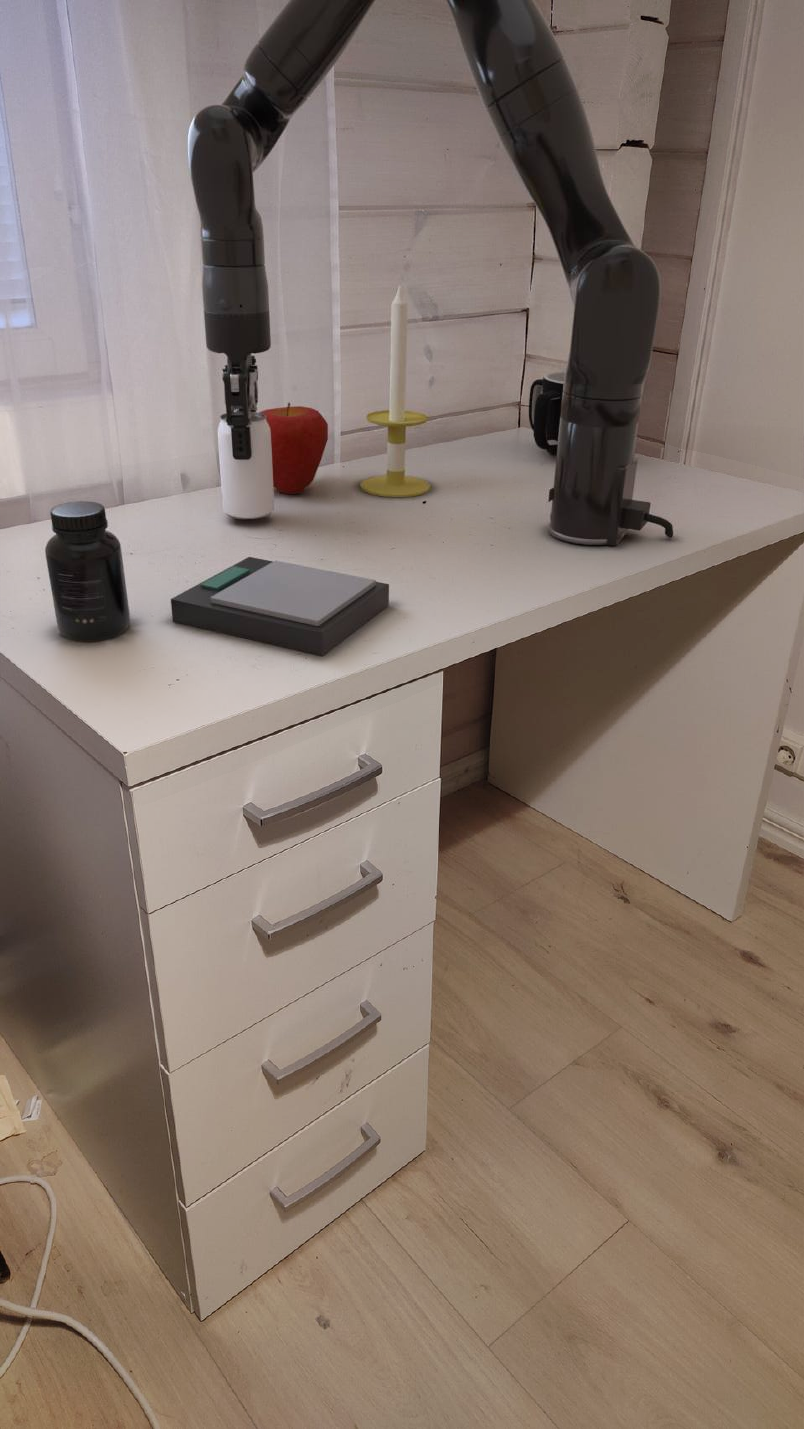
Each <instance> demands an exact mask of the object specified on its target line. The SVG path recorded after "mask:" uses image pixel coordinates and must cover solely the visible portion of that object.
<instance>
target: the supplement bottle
mask: <svg viewBox="0 0 804 1429" xmlns="http://www.w3.org/2000/svg"><path fill="white" fill-rule="evenodd" d="M50 518H51V519H50V520H51V530H52V532H53V533H54V535H52V537H50V538H49V539H48V541H47V542H46V545H45V547H44V553H45V560H46V566H47V573H48V577H49V583H50V590H51V591H50V592H51V596H52V602H53V608H54V614H55V620H56V624H57V629H58V631H59V633H60V634H61V635H62V636H64V637H65V638H67V639H70V640H72V641H76V642H77V641H78V642H97V641H98V642H99V641H104V640H108V639H112V638H115V637H117V636H119V635H121V634H123V633H124V632H125V631H126V630H127V629H128V628H129V626H130V623H131V616H130V615H131V614H130V607H129V598H128V590H127V583H126V574H125V567H124V560H123V550H122V545H121V542H120V540H119V538H118V537H117V535H115V534H114V533H112V532H111V531H109V530H107V529H108V527H109V522H108V519H107V515H106V508H105V506H104V505H103V504H102V503H99V502H95V501H87V500H79V501H78V500H77V501H76V500H75V501H70V502H65V503H61V504H57V505H56V506H53V507H52V508H51V509H50Z"/></svg>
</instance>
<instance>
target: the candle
mask: <svg viewBox="0 0 804 1429" xmlns="http://www.w3.org/2000/svg"><path fill="white" fill-rule="evenodd" d="M399 285H401V282H400V281H399ZM408 306H409V303H408V301H406V299H405V297H404V293H403V288H402V286H398V287H397V291H396V295H395V297H394V299H393V300H392V302H391V307H390V308H391V312H390V318H391V319H390V355H389V357H390V359H389V361H390V362H389V365H390V366H389V407H388V408H389V409H386V410H385V409H384V410H378V411H377V410H376V411H372V412H369V413H367V414H366V416H365V419H366V420H367V421H368V422H369V423H371V424H374V425H379V426H384V427H387V438H386V440H387V441H386V442H387V444H386V446H387V447H386V475H378V476H374V477H373V476H372V477H369V478H367V479H364V480H362V482H361V483H360V485H359V487H360V489H361V491H363V492H365V493H367V494H370V495H374V496H378V497H384V498H411V497H412V498H413V497H416V496H422V495H425V494H427V493H428V492H430V489H431V484H429V483H428V482H427V481H426V480H423V479H421V478H417V477H414V476H407V475H405V471H406V435H407V434H406V432H407V427H415V426H420V425H423V424H426V423H427V421H428V418H429V417H428V416H427V415H426V414H424V413H421V412H418V411H412V410H406V383H407V382H406V381H407V380H406V379H407V346H408V345H407V343H408V311H409V310H408V308H409V307H408Z"/></svg>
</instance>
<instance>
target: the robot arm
mask: <svg viewBox="0 0 804 1429" xmlns="http://www.w3.org/2000/svg"><path fill="white" fill-rule="evenodd" d="M445 1H446V4H447V6H448V9H449V11H450V15H451V17H452V19H453V22H454V26H455V29H456V32H457V35H458V39H459V41H460V45H461V48H462V52H463V55H464V57H465V61H466V63H467V66H468V69H469V72H470V75H471V77H472V80H473V83H474V85H475V88H476V91H477V94H478V96H479V98H480V101H481V103H482V105H483V108H484V109H485V112H486V114H487V116H488V119H489V121H490V124H491V126H492V128H493V130H494V132H495V134H496V136H497V138H498V141H499V142H500V145H501V147H502V148H503V151H504V153H505V154H506V156H507V159H508V160H509V162H510V164H511V165H512V167H513V170H514V171H515V173H516V175H517V177H518V178H519V181H520V182H521V184H522V185H523V187H524V189H525V191H526V192H527V194H528V196H529V197H530V199H531V200H532V202H533V203H534V205H535V207H536V208H537V210H538V211H539V214H540V216H541V217H542V219H543V221H544V223H545V225H546V227H547V229H548V230H547V231H548V232H549V234H550V237H551V240H552V242H553V245H554V248H555V250H556V251H555V252H556V254H557V257H558V260H559V262H560V264H561V268H562V270H563V275H564V278H565V280H566V283H567V284H566V285H567V287H568V291H569V294H570V298H571V301H572V304H573V307H574V308H573V318H572V327H571V328H572V329H571V336H570V345H569V346H570V347H569V353H568V359H567V363H566V367H565V369H564V371H565V374H564V385H563V395H562V406H561V417H560V426H559V436H558V446H557V456H555V457H556V458H555V468H554V479H553V487H552V488H550V489H549V491H548V501H547V503H550V502H551V508H550V509H551V510H550V516H549V524H548V533H549V534H550V535H551V536H552V537H554V538H556V539H558V540H561V541H564V542H568V543H572V544H577V545H586V546H613V547H614V546H617V545H618V544H619V543H620V542H621V541H622V540H624V538H625V536H626V535H627V534H628V533H629V530H632V531H638V532H640V531H642V529H643V528H644V527H645V526H646V525H647V523H652V524H655V525H657V526H661V528H664V535H665V536H666V537H667V538H669V539H672V538H674V528H673V526H674V525H673V524H672V522H670V521H669V520H668V519H665V518H664V517H661V516H658V515H654V514H651V513H650V510H651V504H652V503H651V502H650V501H644V500H636V499H633V498H634V490H635V489H634V488H635V482H636V475H637V469H638V468H637V467H638V457H636V456H635V450H636V442H637V436H638V435H637V434H638V429H639V428H638V427H639V419H640V412H641V407H642V406H641V405H642V398H643V394H644V393H643V392H644V386H645V380H646V378H647V375H648V373H649V370H650V367H651V361H652V355H653V348H654V342H655V336H656V330H657V323H658V317H659V310H660V302H661V290H662V288H661V287H662V286H661V277H660V272H659V269H658V268H657V265H656V263H655V261H654V260H653V259H652V258H651V256H649V254H647V253H646V252H645V251H644V250H642V249H641V248H639V247H637V246H636V244H635V243H634V242H633V239H632V238H631V236H630V235H629V232H628V231H627V229H626V227H625V226H624V224H623V222H622V220H621V218H620V216H619V213H618V212H617V210H616V208H615V206H614V203H613V202H612V200H611V198H610V196H609V193H608V191H607V187H606V186H605V183H604V179H603V176H602V172H601V167H600V162H599V159H598V154H597V149H596V146H595V141H594V137H593V133H592V132H593V131H592V129H591V124H590V122H589V118H588V115H587V112H586V109H585V105H584V102H583V99H582V97H581V94H580V91H579V88H578V86H577V83H576V81H575V79H574V77H573V76H574V75H573V74H572V72H571V69H570V66H569V64H568V62H567V59H566V58H565V55H564V53H563V50H562V48H561V47H560V44H559V42H558V41H557V39H556V36H555V34H554V32H553V30H552V28H551V27H550V25H549V23H548V21H547V20H546V18H545V16H544V15H543V13H542V11H541V8H539V6H538V5H537V3H536V1H535V0H445ZM374 3H376V0H287V2H286V3H285V4H284V6H283V7H282V8H281V10H280V11H279V13H278V14H277V15H276V16H275V18H274V19H273V21H272V22H271V23H270V24H269V25H268V27H267V29H266V30H265V31H264V32H263V34H262V35H261V37H260V38H259V39H258V41H257V43H255V44H254V45H253V47H252V48H251V50H250V52H249V54H248V55H247V57H246V59H245V61H244V63H243V73H242V75H241V77H240V79H239V80H238V81H237V82H236V84H235V85H234V86H233V87H232V90H231V91H230V92H229V94H228V96H226V98H225V99H224V101H223V102H222V103H221V104H210V105H207V106H204V107H203V108H202V109H200V110H199V111H198V112H197V113H196V114H195V115H194V117H193V119H192V120H191V122H190V124H189V128H188V131H187V140H186V142H187V143H186V148H187V150H186V151H187V162H188V170H189V175H190V179H191V185H192V189H193V195H194V199H195V204H196V208H197V211H198V216H199V223H200V232H199V233H200V248H201V260H202V279H201V280H202V281H201V290H202V292H201V293H202V304H203V317H204V332H205V345H206V348H207V349H208V351H209V352H212V353H215V354H224V355H225V356H226V358H227V359H226V363H227V364H224V368H222V369H221V380H222V383H223V387H224V388H223V389H224V391H223V392H224V393H223V395H224V397H223V398H224V401H223V402H224V405H225V412H226V414H227V418H226V423H227V425H228V426H229V427H230V428H231V437H232V452H233V458H234V459H236V460H249V459H250V458H251V456H252V451H251V434H250V427H251V425H252V422H251V414H250V411H251V412H258V406H257V405H258V403H259V385H258V380H259V365H258V364H257V358H256V356H255V355H252V354H261V353H265V352H267V351H268V350H270V349H271V346H272V342H271V340H272V339H271V320H270V318H271V317H270V299H269V298H270V297H269V283H268V277H267V271H266V265H265V264H266V258H265V257H266V256H265V239H264V238H265V236H264V227H263V226H264V224H263V221H262V217H261V214H260V212H259V211H258V210H257V207H256V198H255V186H254V185H255V184H254V173H255V172H256V171H257V170H258V169H259V168H260V166H261V165H262V164H263V163H264V162H265V160H266V159H267V157H268V156H269V155H270V153H272V150H273V149H274V148H275V146H276V144H277V143H278V141H279V139H280V138H281V136H282V135H283V133H284V131H285V130H286V128H287V127H288V125H289V123H290V121H291V120H292V118H293V117H294V115H295V114H296V112H298V110H299V109H300V108H302V106H303V105H304V104H305V103H306V101H307V100H308V98H310V97H311V95H312V94H313V93H314V92H315V90H316V89H317V88H318V86H320V84H322V82H323V80H325V77H326V76H327V75H328V74H329V73H330V71H331V70H332V68H334V66H335V65H336V63H337V62H338V60H339V59H340V57H341V56H342V54H343V53H344V52H345V50H346V49H347V47H348V45H349V44H350V42H351V40H352V39H353V37H354V36H355V34H356V33H357V31H358V29H359V27H360V26H361V24H362V22H363V21H364V20H365V18H366V16H367V14H368V13H369V11H370V10H371V8H372V7H373V5H374ZM239 411H243V414H244V415H234V412H239Z"/></svg>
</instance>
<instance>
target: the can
mask: <svg viewBox="0 0 804 1429" xmlns="http://www.w3.org/2000/svg"><path fill="white" fill-rule="evenodd" d="M259 412H260V411H256V412H251V411H250V414H251V422H252V425H251V427H250V434H251V451H252V456H251V458H250V459H249V460H236V459H234V458H233V452H232V437H231V428H230V427H229V426H228V425H227V423H226V418H227V414H226V413H222V414H221V415H220V416H219V419H220V420H219V421H220V422H219V424H218V426H217V444H218V445H217V447H218V459H219V460H218V461H219V471H220V472H219V473H220V474H219V475H220V487H221V500H222V511H223V512H224V514H225V515H226V516H227V517H228V518H229V517H230V518H233V519H237V520H258V519H262V518H266V517H269V516H270V515H271V514H272V513H273V512H274V510H275V496H274V494H275V492H274V487H273V469H272V448H271V431H270V427H269V425H268V423H267V421H266V415H265V414H263V413H259ZM234 415H244V414H243V411H239V412H236V411H234Z"/></svg>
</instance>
